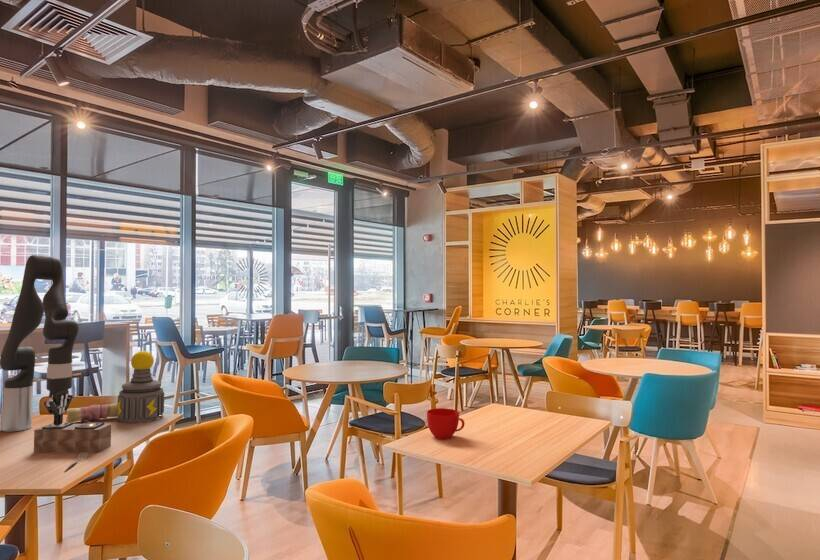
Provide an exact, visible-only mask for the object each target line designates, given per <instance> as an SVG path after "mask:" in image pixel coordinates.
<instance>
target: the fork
mask: <svg viewBox="0 0 820 560" xmlns="http://www.w3.org/2000/svg"><path fill="white" fill-rule="evenodd" d="M87 457H88V452H87V453H86V452H85V453H79V455H78V456H77V459H79V460H77V461H75V462H74V463H72V464H70V465H69V466H68V467H67V468H65V470H64V473H66V472H68V471H70V470H71V469H72V468H74V467H76V465H77V464H78V463H79V461H80V460H86V459H87Z"/></svg>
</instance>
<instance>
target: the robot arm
mask: <svg viewBox="0 0 820 560" xmlns="http://www.w3.org/2000/svg"><path fill="white" fill-rule="evenodd" d="M24 267H25V268H24V272H23V278H22V284H21V288H20V293H19V296H18V300H17V302H16V306H15V309H14V312H13V317H12V321H11V324H10V328H9V332H8V335H7V337H6V340H5V342H4V345H3V347H2V351H1V353H0V368H1V370H2V371H8V372H9V371H19V372H18V373H17V374H16V375H14V376H12V377H10V378H7V379H6V380H5V381H4V386H3V387H4V390H3V406H1V407H0V431H1V432H7V433H9V432H20V431H25V430H28V429H31V428H32V415H33V414H32V413H33V411H32V410H33V389H34V387H33V385H34V384H33V382H34V378H35V366H36V365H35V364H36V351H35V349H34V348H33V347H32V346H20V345H21V343H22V342H23V341H24V340H25V339H26V338H27V337H28V336H30V334H32V333H33V332H34V331H35V330H36V329H38V327H39V326H40V325H41V323H42V319H43V317H45V318H44V325H43V329H42V335H43V337H44V338H45V339H47V340H49V341H58V340H59V341H60V340H61V341H62V340H63V341H64V342H63V343H62V344H60V345H57V346H55V345H54V346H52V347H50V348H49V349H48V351H47V352H48V353H47V354H48V356H47V368H46V388H45V389H46V390H47V391H49V394H48V398H49V399H47V401H44V402H43V405H44V407H45V408H46V410H47V412H48V413H49V414H50V415H53V423H54V425H60V424H62V423H64V422H63V421H64V413H65V411H67V409H68V408H70V404H71V402H72V400H73V398H74V395H72V394H69V392H70V389H72V386H73V364H72V363H73V362H72V361H73V349H74V346H75V342H76V340H77V337H78V334H79V330H80V329H79V328H80V327H79V324H78V322H77V321H76V320H74V319H67V318H68V317H69V310H68V306H67V302H66V296H65V286H64V285H65V283H64V268H63V263H62V261H61V259H60V258H59V257H58V256H56V257H55V256H47V255H41V254H39V255H38V254H37V255H36V254H32V255H30V256H28V257H27V260H26V264H25V266H24ZM36 280H43V281H45V280H46V281H52V285H50V287H49V289H48V290H47V291H46V293H45V294H44V296H43V298H42V299H41V298H40V296H39V294H38V292H37V289H36V288H35V287H36V286H35V283H36ZM44 315H45V316H44Z"/></svg>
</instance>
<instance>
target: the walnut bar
mask: <svg viewBox="0 0 820 560" xmlns="http://www.w3.org/2000/svg"><path fill="white" fill-rule="evenodd" d="M64 423H65V425H63V426H61V427H51V425H52V424H54V422H53V423H47V424H45V425H43V426H40V427H38V428H35V429H34V432H33V433H34V434H33V453H34V452H41V454H43V453H44V454H45V453H46V452H72V453H73V454H74V453H75V452H76V453H78V454H80V453H81V454H82V453H83V454H87V452H88V453H89V454H90V453H91V454H92V453H93V452H94V453H97V452H98V453H101V452H102V451H104V450H106V449H108V448H109V447H111V445H112V444H111V443H112V423H105V422H84V423H74V422H71V423H67V422H64ZM85 424H96V425H95V426H93V427H83V425H85ZM85 452H86V453H85ZM46 454H47V453H46Z"/></svg>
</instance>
